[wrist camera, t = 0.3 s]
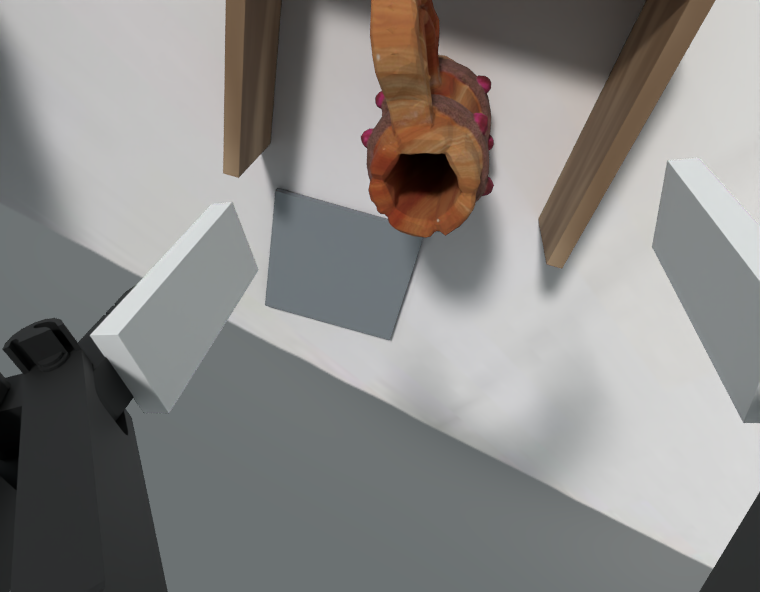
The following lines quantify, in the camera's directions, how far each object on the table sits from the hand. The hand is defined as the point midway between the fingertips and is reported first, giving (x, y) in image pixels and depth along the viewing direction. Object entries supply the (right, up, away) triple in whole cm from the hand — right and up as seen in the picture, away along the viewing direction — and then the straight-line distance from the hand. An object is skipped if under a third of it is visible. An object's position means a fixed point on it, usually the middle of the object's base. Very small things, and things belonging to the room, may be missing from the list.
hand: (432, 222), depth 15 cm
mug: (+2, +14, +21) cm, 26 cm away
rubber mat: (-6, 0, +34) cm, 34 cm away
